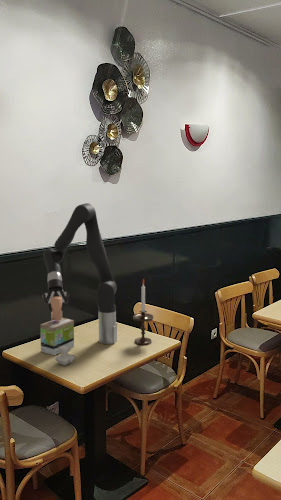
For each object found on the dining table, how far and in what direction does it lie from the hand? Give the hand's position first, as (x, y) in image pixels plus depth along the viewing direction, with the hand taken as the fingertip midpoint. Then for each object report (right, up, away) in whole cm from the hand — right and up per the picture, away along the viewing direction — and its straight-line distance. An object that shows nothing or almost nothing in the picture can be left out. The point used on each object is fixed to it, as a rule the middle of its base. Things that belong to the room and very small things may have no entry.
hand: (56, 310), depth 234 cm
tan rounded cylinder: (0, -4, +2) cm, 5 cm away
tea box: (0, -21, +5) cm, 22 cm away
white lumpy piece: (+6, -24, -12) cm, 27 cm away
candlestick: (+44, -19, +15) cm, 50 cm away
